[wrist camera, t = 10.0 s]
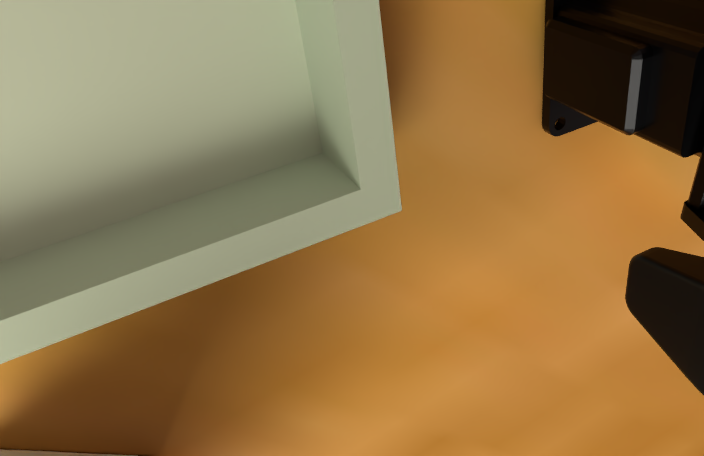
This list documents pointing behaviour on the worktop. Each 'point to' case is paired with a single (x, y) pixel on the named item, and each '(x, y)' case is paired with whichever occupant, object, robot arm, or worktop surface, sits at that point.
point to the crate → (178, 148)
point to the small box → (48, 453)
